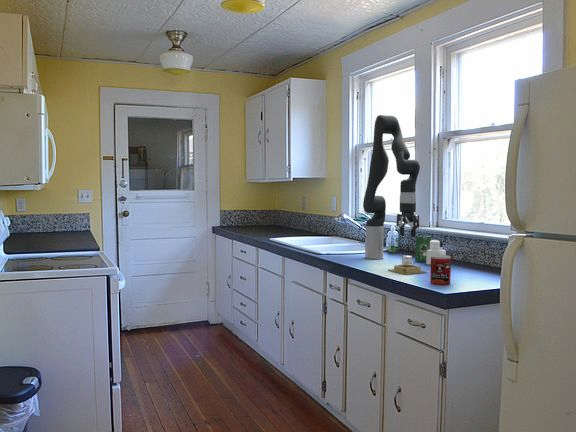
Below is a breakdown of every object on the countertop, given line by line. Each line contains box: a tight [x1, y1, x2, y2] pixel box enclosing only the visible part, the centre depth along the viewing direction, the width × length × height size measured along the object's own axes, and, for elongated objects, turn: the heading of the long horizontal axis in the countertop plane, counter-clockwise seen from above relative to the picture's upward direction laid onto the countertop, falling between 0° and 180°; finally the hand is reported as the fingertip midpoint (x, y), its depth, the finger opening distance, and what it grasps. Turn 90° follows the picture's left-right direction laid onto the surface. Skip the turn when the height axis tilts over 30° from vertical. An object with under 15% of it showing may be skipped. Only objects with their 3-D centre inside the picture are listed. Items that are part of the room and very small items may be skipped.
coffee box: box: [414, 235, 432, 263], centre depth 269 cm, size 8×3×13 cm, turn 117°
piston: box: [401, 254, 413, 265], centre depth 251 cm, size 5×5×5 cm
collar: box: [388, 264, 428, 276], centre depth 237 cm, size 12×12×3 cm
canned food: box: [429, 255, 452, 286], centre depth 210 cm, size 8×8×11 cm
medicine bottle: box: [425, 239, 447, 266], centre depth 260 cm, size 7×7×12 cm
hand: (407, 236), depth 250 cm, fingers open, 8 cm apart
